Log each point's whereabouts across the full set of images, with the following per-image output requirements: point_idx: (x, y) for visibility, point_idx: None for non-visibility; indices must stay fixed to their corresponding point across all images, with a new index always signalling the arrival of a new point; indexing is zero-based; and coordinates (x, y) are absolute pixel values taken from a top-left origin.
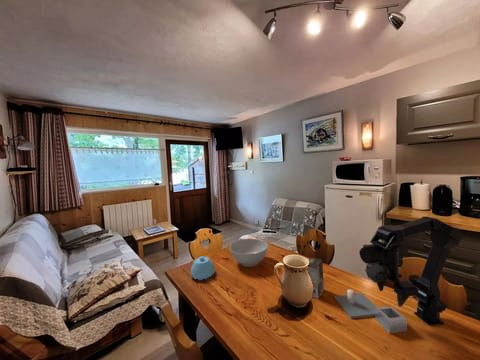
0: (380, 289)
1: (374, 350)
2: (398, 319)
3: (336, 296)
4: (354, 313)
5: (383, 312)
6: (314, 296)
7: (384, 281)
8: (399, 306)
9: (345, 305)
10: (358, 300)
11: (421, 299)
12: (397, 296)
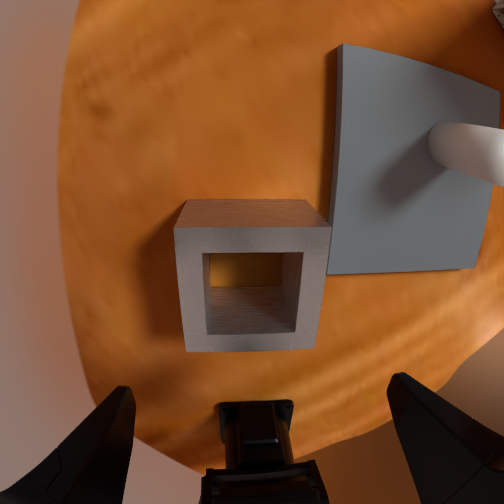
0: (400, 387)
1: (94, 42)
2: (183, 304)
3: (497, 101)
4: (364, 86)
5: (295, 265)
6: (501, 1)
7: (417, 484)
8: (118, 386)
9: (435, 88)
10: (449, 205)
11: (242, 494)
12: (68, 478)
